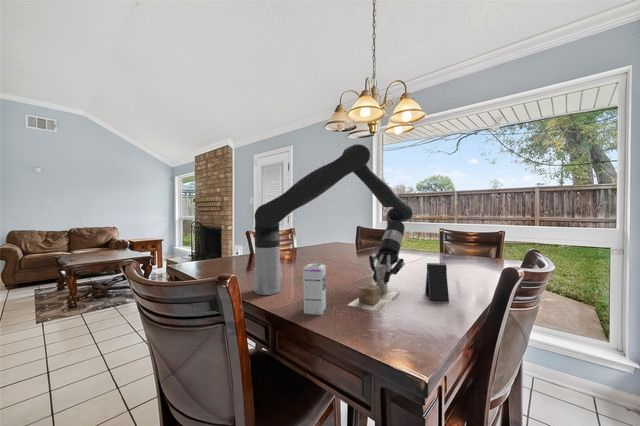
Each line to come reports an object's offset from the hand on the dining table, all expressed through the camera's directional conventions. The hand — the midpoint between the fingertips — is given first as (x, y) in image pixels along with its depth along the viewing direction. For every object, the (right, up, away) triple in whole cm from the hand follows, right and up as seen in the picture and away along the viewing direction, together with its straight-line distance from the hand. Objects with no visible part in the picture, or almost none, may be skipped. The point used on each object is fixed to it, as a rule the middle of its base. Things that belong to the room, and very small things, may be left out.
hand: (380, 281), depth 96 cm
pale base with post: (-3, -6, -4) cm, 7 cm away
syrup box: (-23, -6, -15) cm, 28 cm away
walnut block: (-5, -5, -8) cm, 11 cm away
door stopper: (+20, -6, 0) cm, 21 cm away
